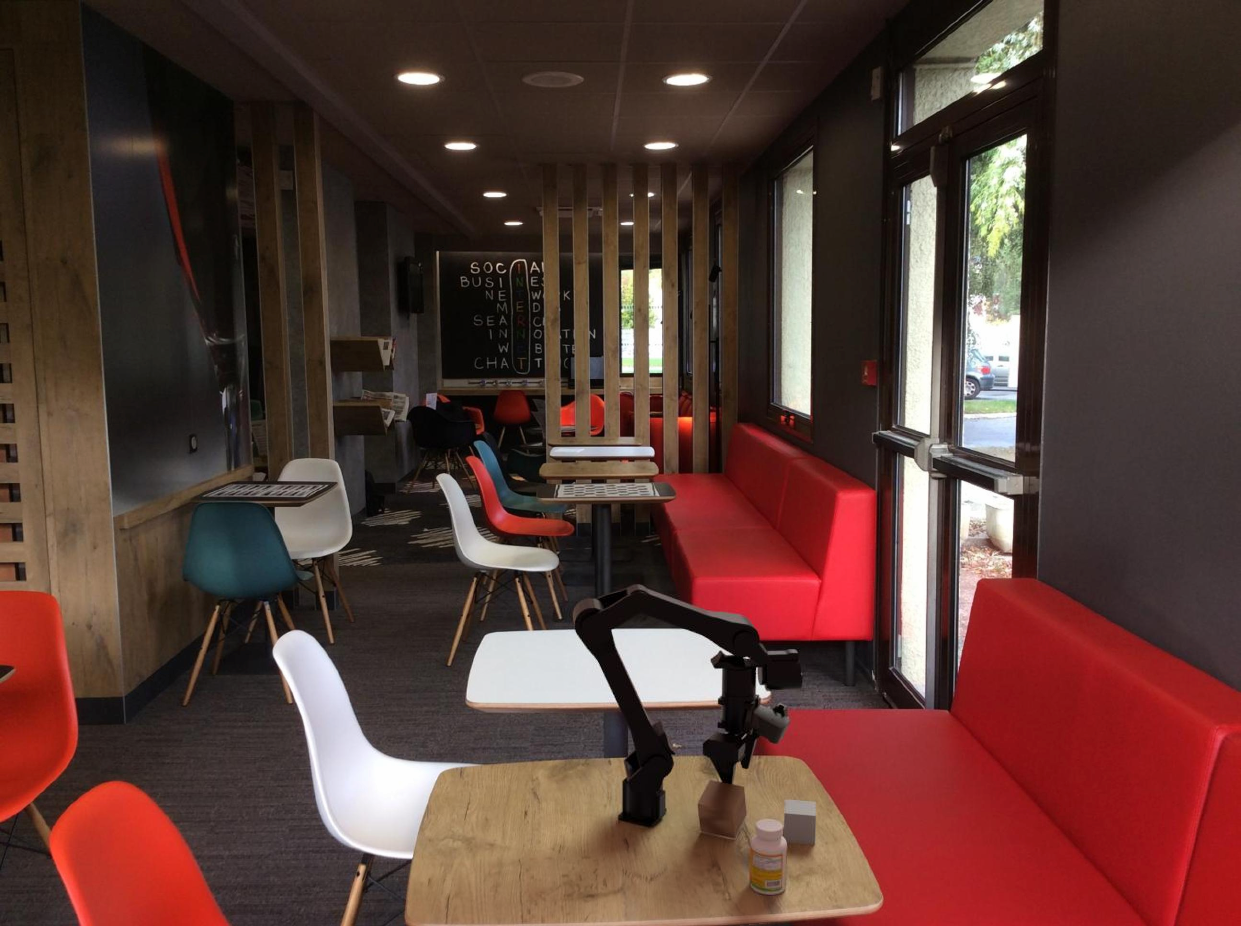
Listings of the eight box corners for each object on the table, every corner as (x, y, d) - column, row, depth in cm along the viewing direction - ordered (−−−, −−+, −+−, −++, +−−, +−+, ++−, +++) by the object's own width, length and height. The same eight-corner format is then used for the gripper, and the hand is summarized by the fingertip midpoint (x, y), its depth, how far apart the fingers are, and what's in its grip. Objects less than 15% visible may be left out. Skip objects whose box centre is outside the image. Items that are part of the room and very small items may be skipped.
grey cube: (783, 842, 169) (784, 812, 168) (784, 827, 173) (785, 799, 173) (814, 844, 168) (815, 815, 167) (815, 830, 173) (815, 801, 172)
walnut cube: (700, 832, 172) (697, 803, 169) (712, 807, 176) (709, 779, 174) (735, 839, 169) (732, 810, 167) (746, 814, 174) (744, 786, 172)
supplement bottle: (761, 872, 159) (763, 812, 158) (792, 884, 156) (794, 823, 154) (742, 887, 155) (744, 825, 154) (774, 899, 152) (775, 837, 150)
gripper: (768, 718, 164) (766, 811, 166) (800, 680, 181) (798, 766, 183) (701, 706, 169) (700, 797, 171) (739, 671, 185) (737, 754, 187)
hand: (737, 778), depth 178 cm, fingers open, 8 cm apart
